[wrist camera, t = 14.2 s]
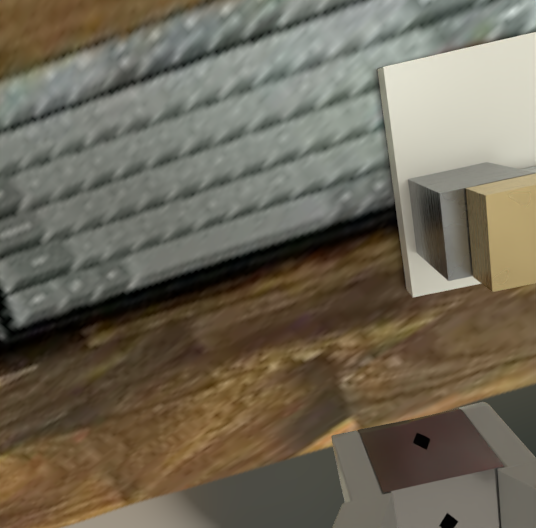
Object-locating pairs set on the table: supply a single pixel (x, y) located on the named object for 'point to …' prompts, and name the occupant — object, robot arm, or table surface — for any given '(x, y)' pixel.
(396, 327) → the table surface
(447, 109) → the cutting board
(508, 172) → the tongs
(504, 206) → the tab
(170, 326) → the table surface
